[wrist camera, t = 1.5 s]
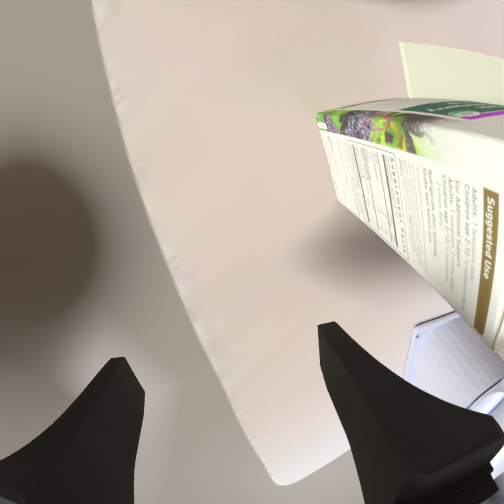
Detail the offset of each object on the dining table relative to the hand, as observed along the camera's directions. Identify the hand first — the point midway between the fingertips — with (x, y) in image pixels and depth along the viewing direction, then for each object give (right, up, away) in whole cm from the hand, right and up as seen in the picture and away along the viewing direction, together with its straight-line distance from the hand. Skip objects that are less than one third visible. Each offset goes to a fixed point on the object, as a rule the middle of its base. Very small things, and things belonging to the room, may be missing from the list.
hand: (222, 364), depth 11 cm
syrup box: (+8, +10, +7) cm, 15 cm away
